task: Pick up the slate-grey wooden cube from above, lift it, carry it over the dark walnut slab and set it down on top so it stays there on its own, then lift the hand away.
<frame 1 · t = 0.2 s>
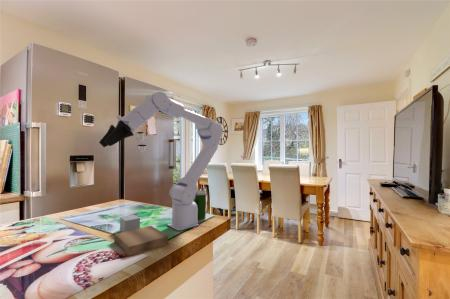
hand: (104, 144, 67), 31 cm above the table, tool tilted 45°, fingers open, 7 cm apart
grey cube: (129, 231, 79), on the table
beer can: (199, 220, 94), on the table
walnut slab: (141, 244, 70), on the table
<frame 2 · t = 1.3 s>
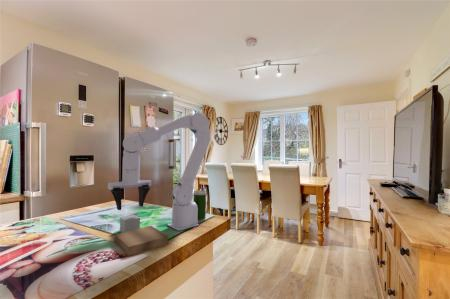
hand: (130, 207, 79), 8 cm above the table, tool pointing down, fingers open, 7 cm apart
nothing on the table moved.
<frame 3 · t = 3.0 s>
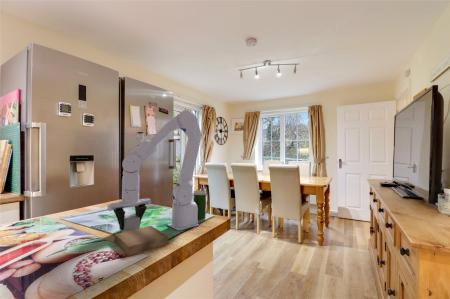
hand: (129, 227, 79), 1 cm above the table, tool pointing down, fingers closed on grey cube, 5 cm apart
grey cube: (129, 231, 79), on the table, touching gripper
everything else where it was.
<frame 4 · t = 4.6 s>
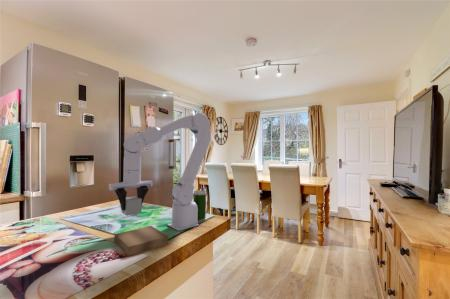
hand: (131, 208, 78), 8 cm above the table, tool pointing down, fingers closed on grey cube, 5 cm apart
grey cube: (131, 212, 78), point 7 cm above the table, touching gripper
everything else where it was.
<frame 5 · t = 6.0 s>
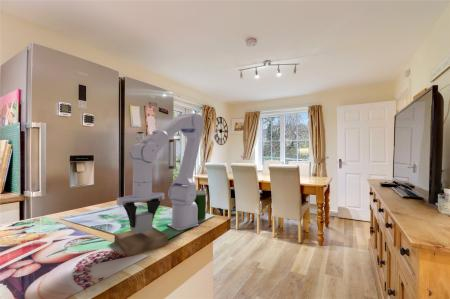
hand: (141, 224, 70), 6 cm above the table, tool pointing down, fingers closed on grey cube, 5 cm apart
grey cube: (141, 229, 70), point 4 cm above the table, touching gripper
everything else where it was.
when the fingers open (5 cm above the table, at t = 6.6 s): grey cube drops 2 cm, resting on walnut slab.
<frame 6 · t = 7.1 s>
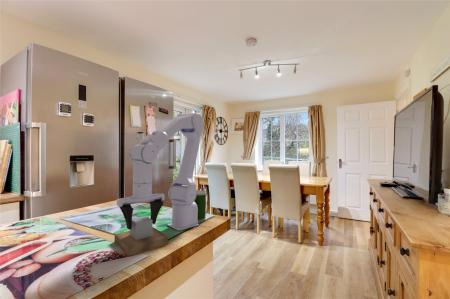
hand: (141, 225, 70), 5 cm above the table, tool pointing down, fingers open, 7 cm apart
grey cube: (140, 235, 70), point 2 cm above the table, touching walnut slab
walnut slab: (141, 244, 70), on the table, touching grey cube
everything else where it was.
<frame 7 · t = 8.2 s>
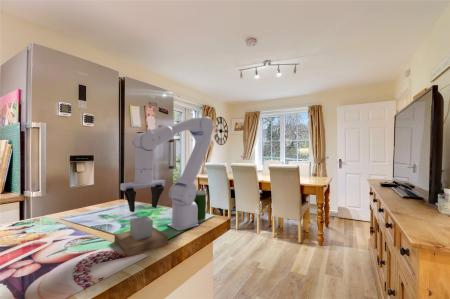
hand: (143, 209, 74), 9 cm above the table, tool pointing down, fingers open, 7 cm apart
nothing on the table moved.
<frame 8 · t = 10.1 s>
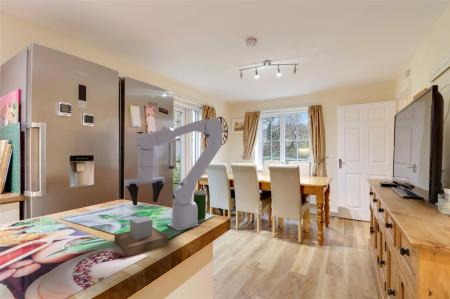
hand: (145, 203, 82), 9 cm above the table, tool pointing down, fingers open, 7 cm apart
nothing on the table moved.
at the end: grey cube 0.1 cm off-centre on the walnut slab, point 3.0 cm above the walnut slab's base; grey cube tilted 0°; the gripper is holding nothing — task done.
